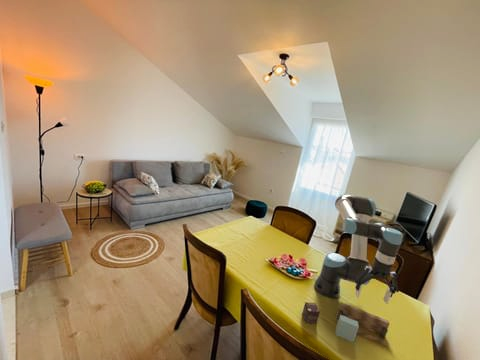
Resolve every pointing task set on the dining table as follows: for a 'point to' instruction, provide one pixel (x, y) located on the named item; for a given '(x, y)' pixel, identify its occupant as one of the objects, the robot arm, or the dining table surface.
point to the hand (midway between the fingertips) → (371, 298)
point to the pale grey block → (347, 328)
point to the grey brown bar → (365, 322)
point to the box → (310, 312)
